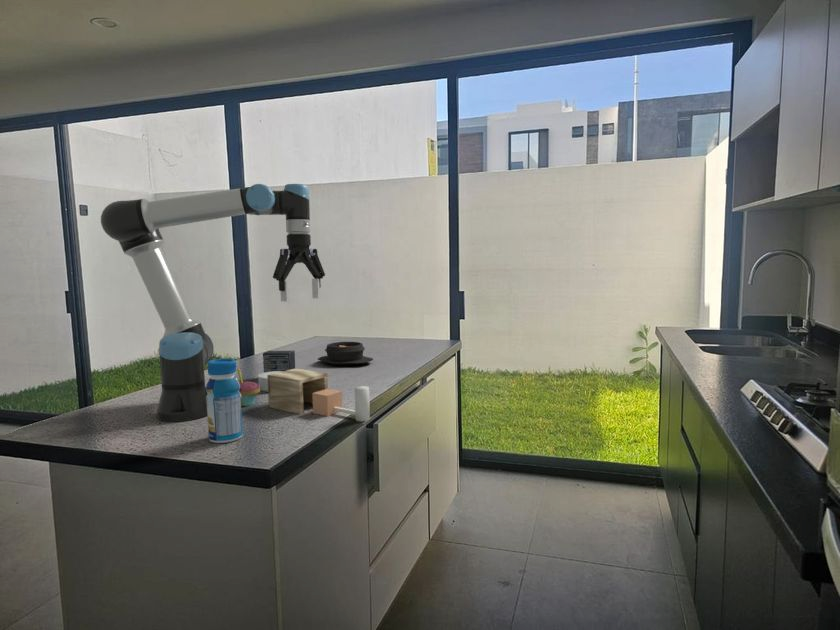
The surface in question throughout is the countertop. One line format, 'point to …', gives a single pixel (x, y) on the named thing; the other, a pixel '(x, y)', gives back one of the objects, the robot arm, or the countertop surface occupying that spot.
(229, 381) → the beverage bottle
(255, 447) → the countertop surface
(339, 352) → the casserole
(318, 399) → the tethered block
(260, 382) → the ramekin
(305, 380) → the shelf slot
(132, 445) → the countertop surface
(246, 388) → the cupcake
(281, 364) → the small box
